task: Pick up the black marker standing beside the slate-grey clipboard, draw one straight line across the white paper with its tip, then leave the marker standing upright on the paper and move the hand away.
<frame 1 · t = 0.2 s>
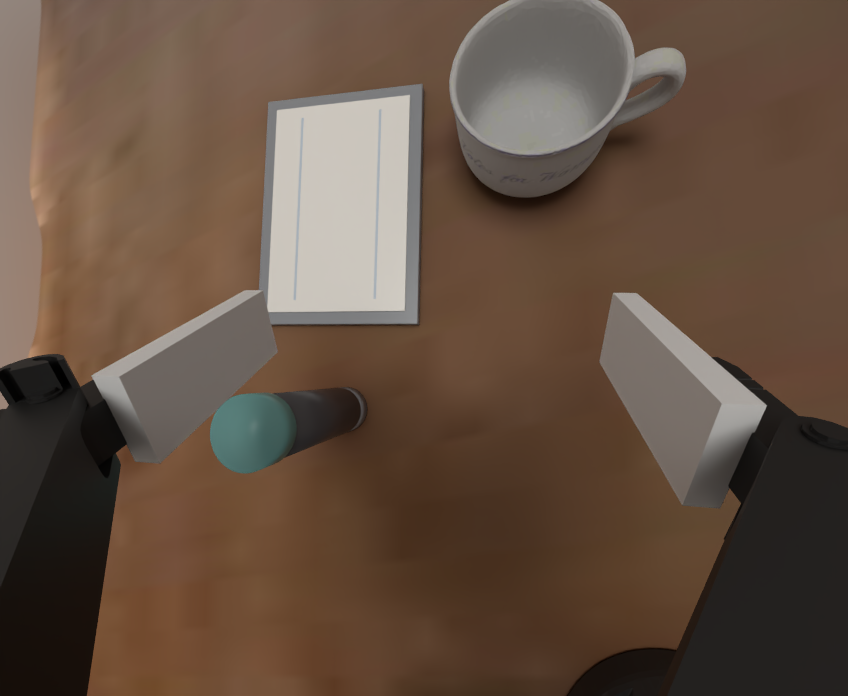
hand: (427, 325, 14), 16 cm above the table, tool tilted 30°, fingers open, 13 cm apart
teacup: (546, 150, 30), on the table
marker: (346, 408, 31), on the table
clipboard: (342, 210, 32), on the table
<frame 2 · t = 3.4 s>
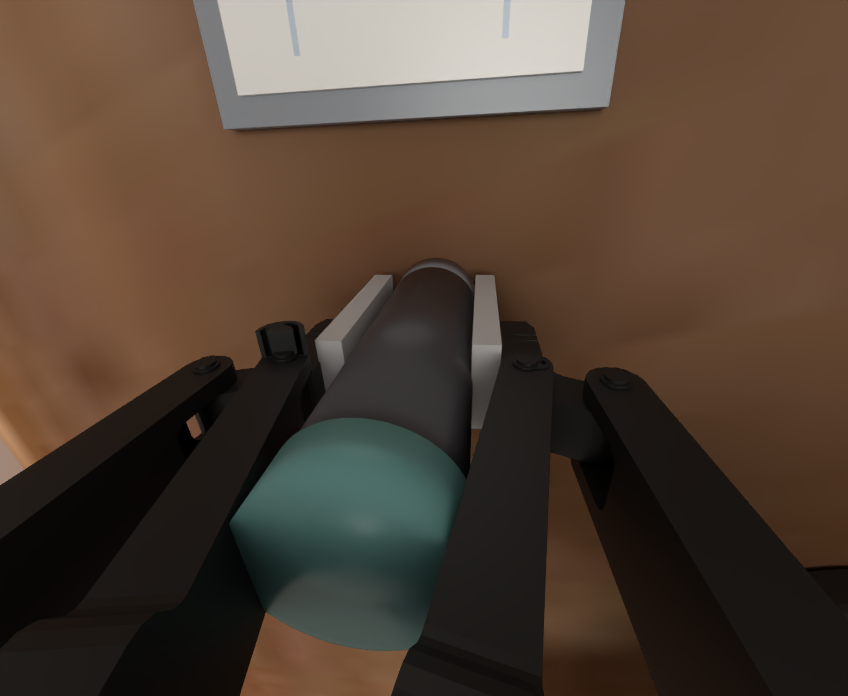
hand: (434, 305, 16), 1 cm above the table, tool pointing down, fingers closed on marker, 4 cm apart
marker: (436, 297, 17), on the table, touching gripper
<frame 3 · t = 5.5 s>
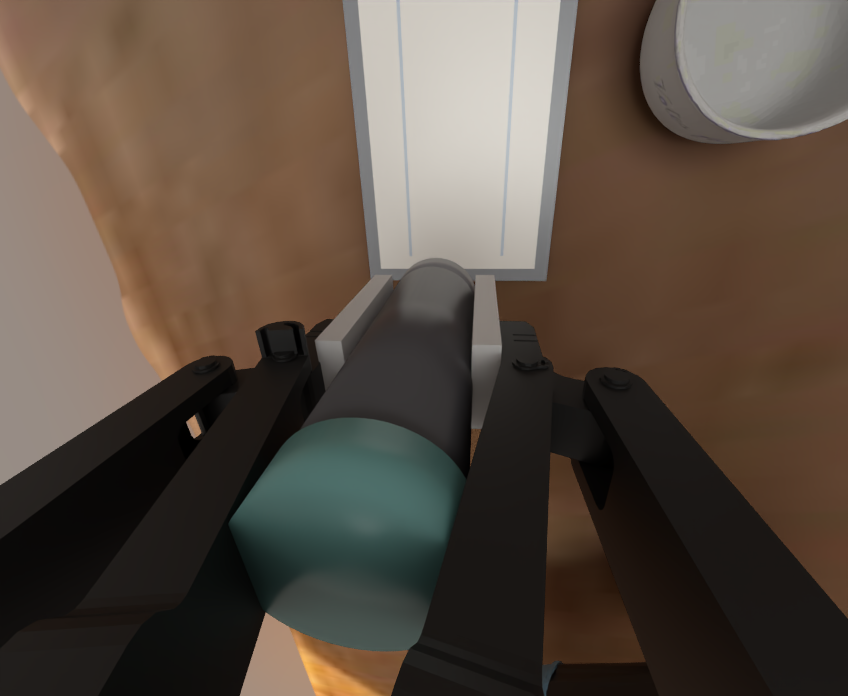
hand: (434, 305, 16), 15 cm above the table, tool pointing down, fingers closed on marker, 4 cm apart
teacup: (743, 47, 22), on the table
marker: (436, 297, 17), point 14 cm above the table, touching gripper
clipboard: (456, 137, 26), on the table
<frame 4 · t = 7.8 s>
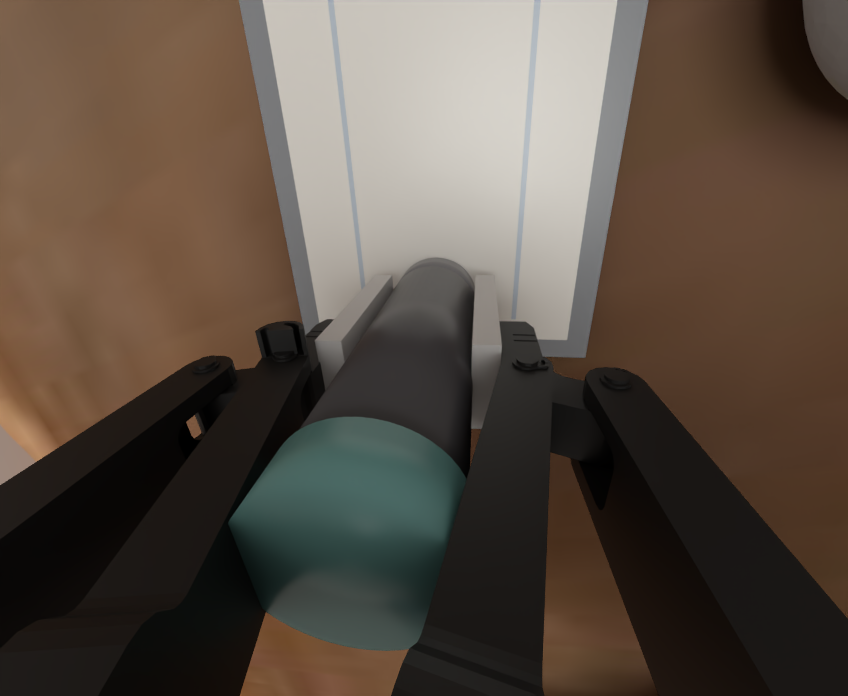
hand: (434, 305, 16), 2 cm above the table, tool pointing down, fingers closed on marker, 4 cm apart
marker: (436, 296, 17), point 1 cm above the table, touching gripper
clipboard: (436, 123, 15), on the table
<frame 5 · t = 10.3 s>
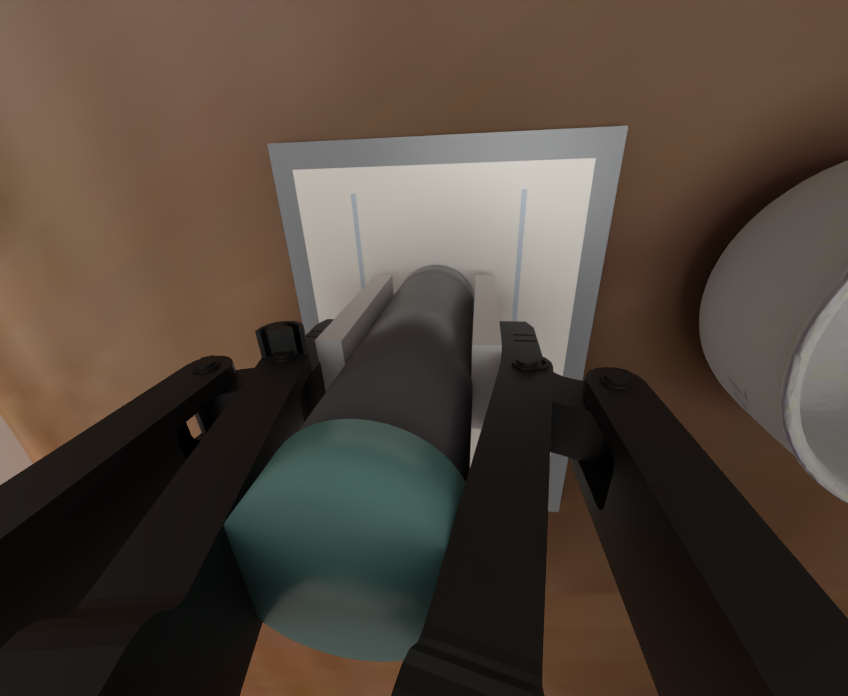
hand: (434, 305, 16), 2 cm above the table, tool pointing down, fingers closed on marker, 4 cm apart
teacup: (843, 280, 16), on the table
marker: (436, 304, 17), point 1 cm above the table, touching gripper
clipboard: (441, 354, 20), on the table
when the fingers open (3 cm above the table, at t = 12.4 s): marker stays where it is, resting on clipboard.
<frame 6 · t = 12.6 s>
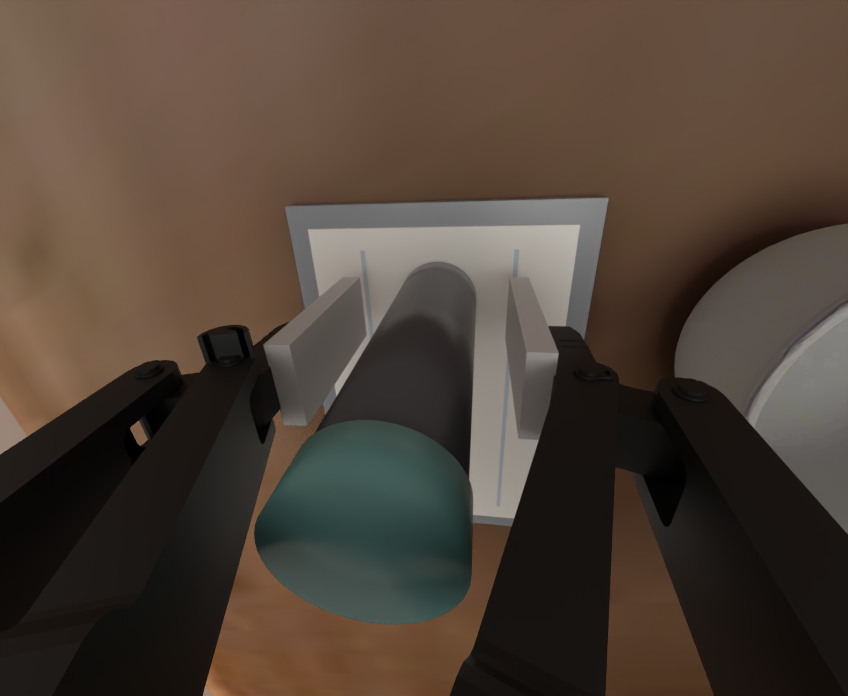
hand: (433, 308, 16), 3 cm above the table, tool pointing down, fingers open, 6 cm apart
teacup: (805, 328, 17), on the table
marker: (438, 299, 18), point 1 cm above the table, touching clipboard
clipboard: (442, 387, 21), on the table
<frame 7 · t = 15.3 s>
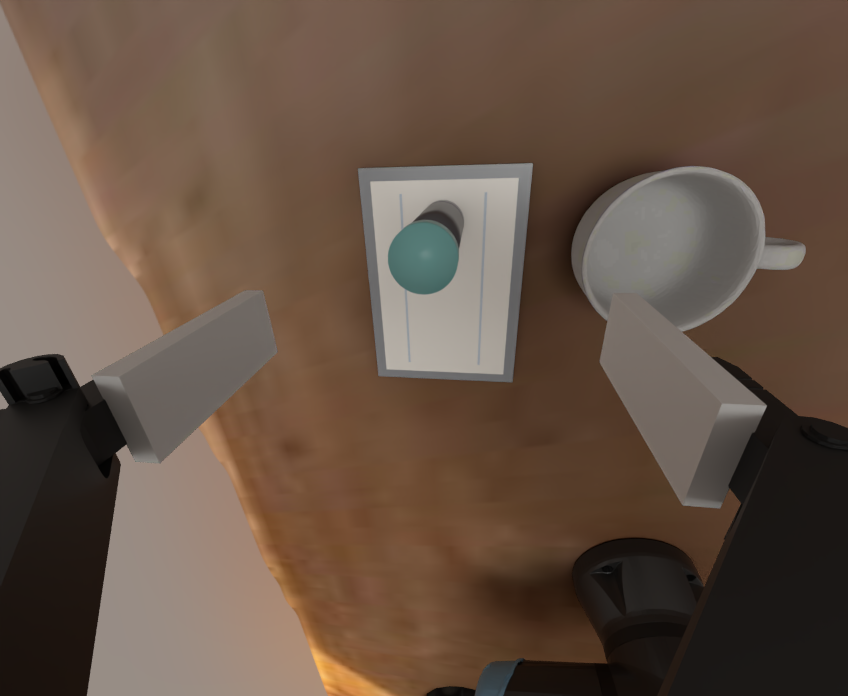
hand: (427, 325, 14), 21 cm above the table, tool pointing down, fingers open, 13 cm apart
teacup: (647, 239, 31), on the table
marker: (442, 222, 31), point 1 cm above the table, touching clipboard
clipboard: (444, 284, 35), on the table
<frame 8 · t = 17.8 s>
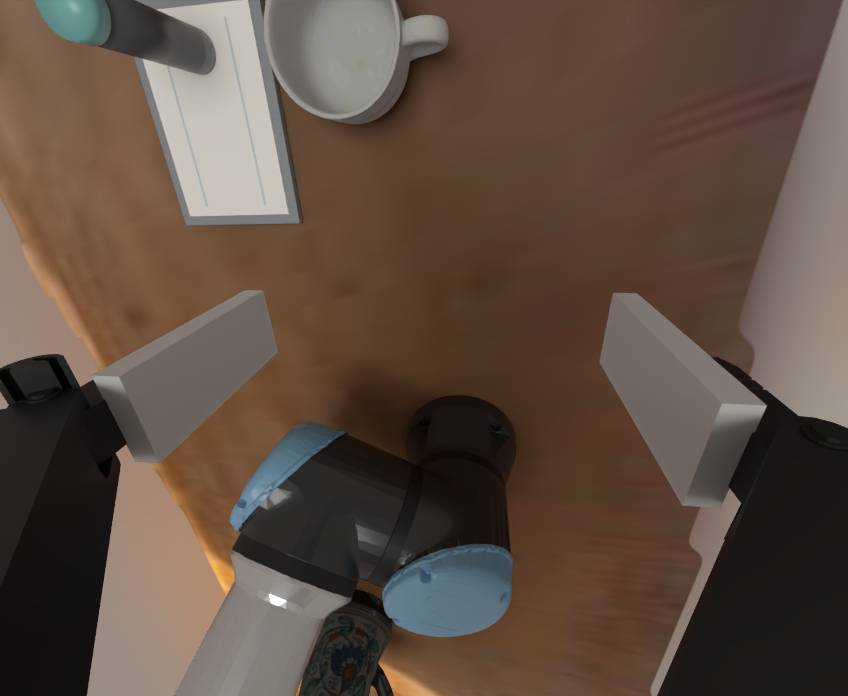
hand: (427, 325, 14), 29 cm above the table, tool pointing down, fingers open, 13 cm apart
teacup: (377, 62, 35), on the table
marker: (197, 51, 35), point 1 cm above the table, touching clipboard
clipboard: (221, 122, 39), on the table
beer stein: (362, 610, 77), on the table
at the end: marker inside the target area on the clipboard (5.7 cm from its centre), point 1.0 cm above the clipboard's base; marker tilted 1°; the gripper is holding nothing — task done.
